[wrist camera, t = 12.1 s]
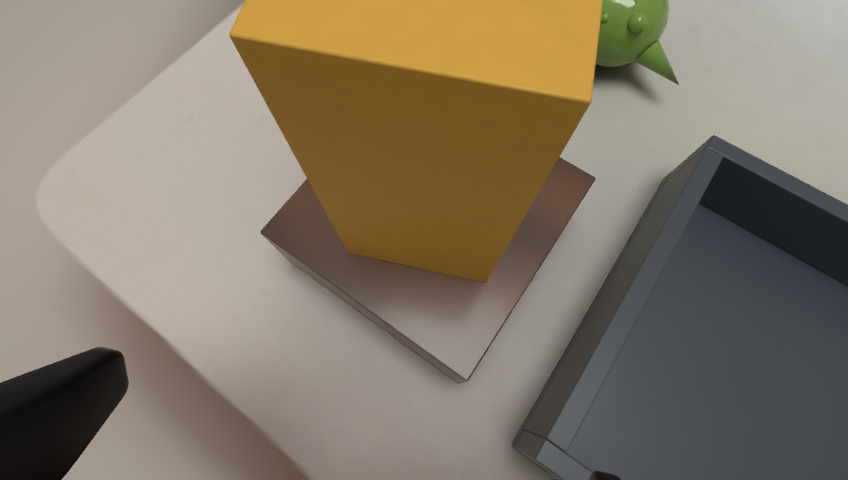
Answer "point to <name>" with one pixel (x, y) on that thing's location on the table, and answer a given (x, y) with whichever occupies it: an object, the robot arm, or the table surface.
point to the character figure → (634, 35)
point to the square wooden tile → (430, 275)
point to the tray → (710, 338)
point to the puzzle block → (424, 114)
